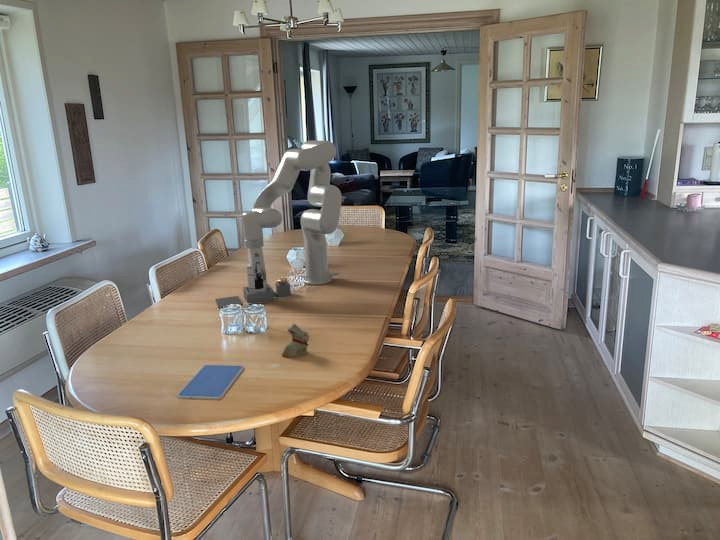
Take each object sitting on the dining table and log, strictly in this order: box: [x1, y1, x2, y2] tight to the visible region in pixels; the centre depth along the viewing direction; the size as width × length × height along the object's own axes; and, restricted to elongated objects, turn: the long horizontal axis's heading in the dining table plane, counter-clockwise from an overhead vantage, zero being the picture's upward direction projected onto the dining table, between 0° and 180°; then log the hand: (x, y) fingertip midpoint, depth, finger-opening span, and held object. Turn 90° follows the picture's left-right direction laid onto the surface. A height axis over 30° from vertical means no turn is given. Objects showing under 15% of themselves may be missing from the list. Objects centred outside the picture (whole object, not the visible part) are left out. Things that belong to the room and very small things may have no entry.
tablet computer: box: [176, 364, 245, 401], centre depth 158 cm, size 19×13×1 cm, turn 172°
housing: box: [242, 280, 292, 304], centre depth 230 cm, size 18×11×5 cm, turn 109°
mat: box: [215, 295, 243, 309], centre depth 225 cm, size 9×11×1 cm
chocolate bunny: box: [281, 323, 310, 358], centre depth 174 cm, size 6×8×10 cm
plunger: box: [276, 277, 288, 285], centre depth 231 cm, size 4×4×6 cm
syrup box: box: [245, 262, 268, 293], centre depth 227 cm, size 6×6×14 cm
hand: (257, 285), depth 228 cm, fingers closed on syrup box, 7 cm apart
